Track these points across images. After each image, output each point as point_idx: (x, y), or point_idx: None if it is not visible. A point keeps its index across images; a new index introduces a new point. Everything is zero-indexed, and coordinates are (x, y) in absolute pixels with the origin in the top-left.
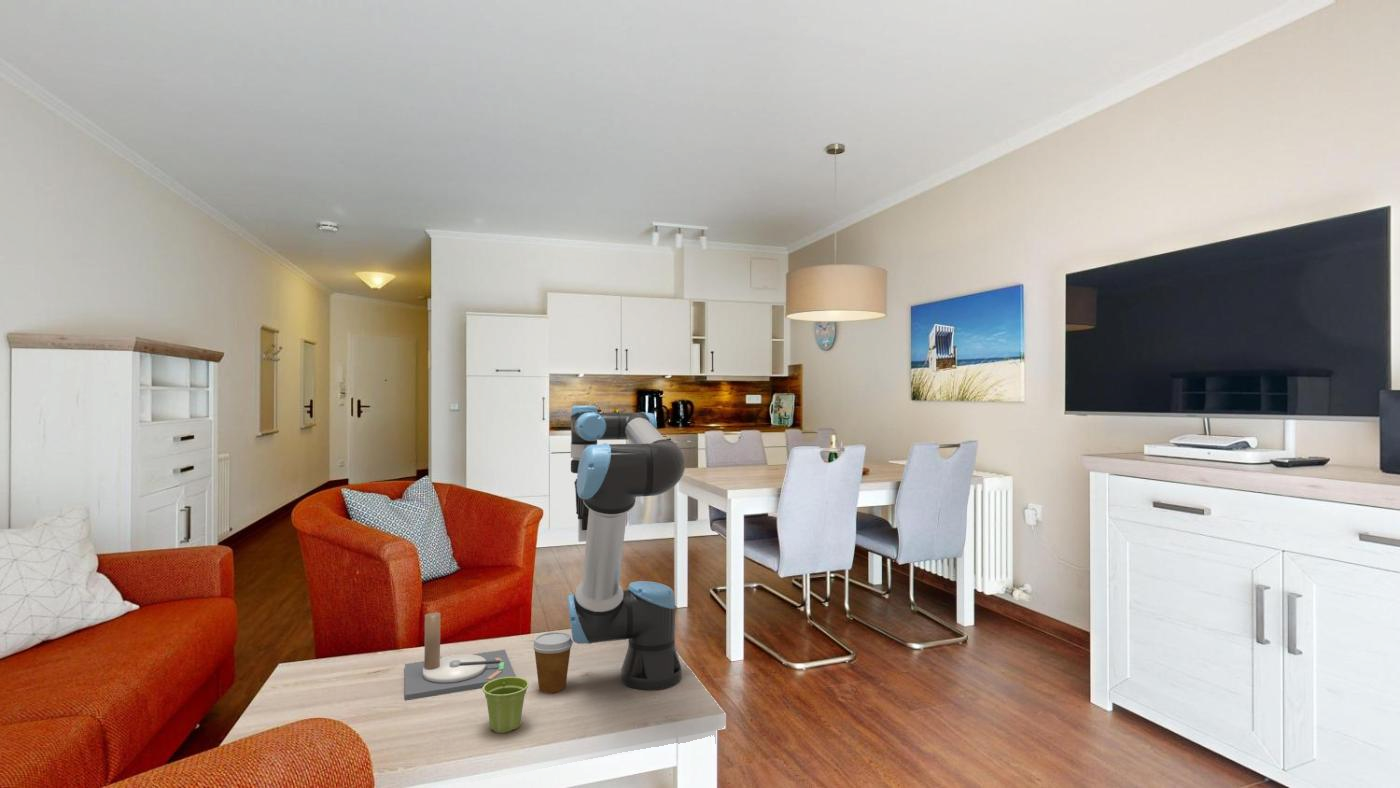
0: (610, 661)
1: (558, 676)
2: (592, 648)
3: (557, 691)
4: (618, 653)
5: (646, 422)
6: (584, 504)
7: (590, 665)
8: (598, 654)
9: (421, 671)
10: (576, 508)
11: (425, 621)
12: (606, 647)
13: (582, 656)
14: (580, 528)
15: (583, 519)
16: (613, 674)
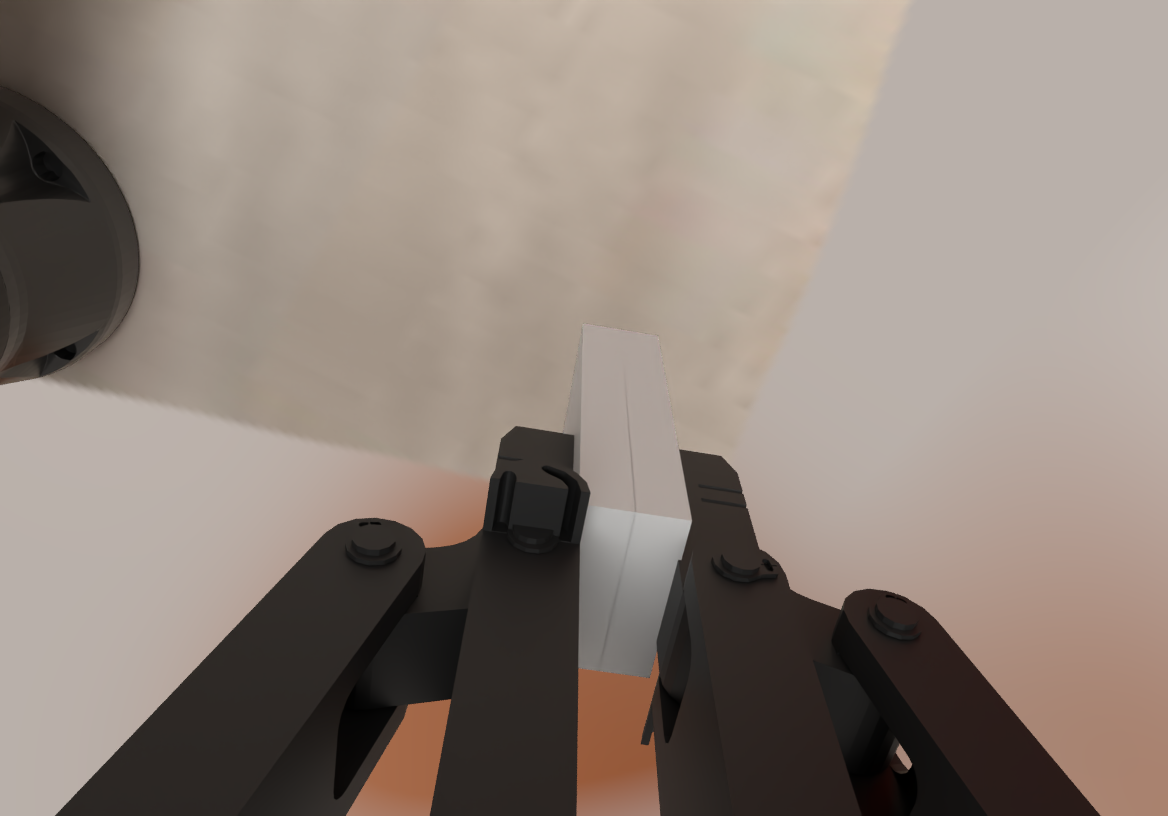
0: (273, 154)
1: None
2: (500, 154)
3: None
4: (361, 240)
5: None
6: (114, 783)
7: (266, 32)
8: (399, 143)
9: None
10: (977, 691)
11: None
12: (474, 225)
13: (414, 51)
14: (579, 424)
15: (473, 540)
16: (96, 86)
